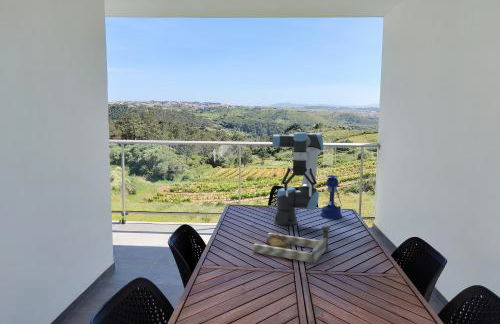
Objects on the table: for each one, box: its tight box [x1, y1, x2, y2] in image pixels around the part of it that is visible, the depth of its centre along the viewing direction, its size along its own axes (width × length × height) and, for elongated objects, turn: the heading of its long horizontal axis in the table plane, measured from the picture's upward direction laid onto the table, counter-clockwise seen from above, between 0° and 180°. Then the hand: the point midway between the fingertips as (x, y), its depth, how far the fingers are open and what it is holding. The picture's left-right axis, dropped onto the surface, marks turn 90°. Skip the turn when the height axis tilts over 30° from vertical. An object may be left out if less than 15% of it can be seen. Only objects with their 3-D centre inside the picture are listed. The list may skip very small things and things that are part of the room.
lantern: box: [319, 174, 343, 220], centre depth 259 cm, size 17×15×30 cm
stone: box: [266, 233, 288, 249], centre depth 197 cm, size 15×9×5 cm, turn 11°
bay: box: [252, 225, 331, 264], centre depth 193 cm, size 34×26×12 cm
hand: (298, 196), depth 210 cm, fingers open, 13 cm apart
